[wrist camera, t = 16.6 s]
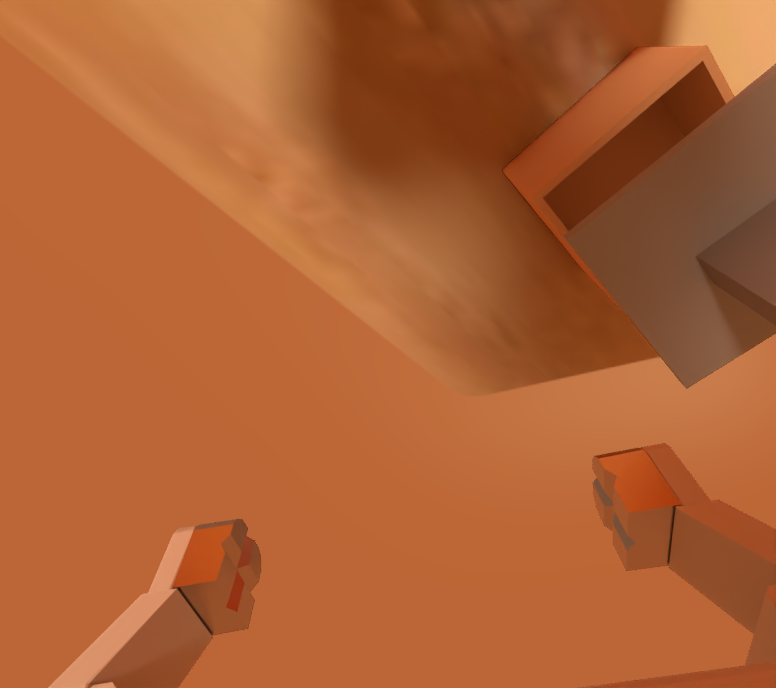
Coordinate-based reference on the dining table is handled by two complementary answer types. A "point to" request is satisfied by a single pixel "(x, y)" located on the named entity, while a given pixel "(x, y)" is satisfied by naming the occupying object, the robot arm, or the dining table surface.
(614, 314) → the dining table surface
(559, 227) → the large tan box
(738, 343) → the grey plate with knob
